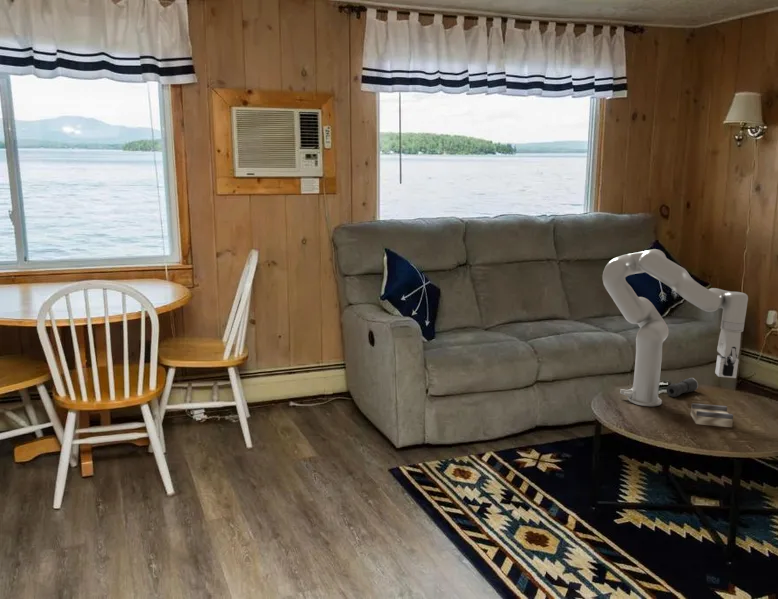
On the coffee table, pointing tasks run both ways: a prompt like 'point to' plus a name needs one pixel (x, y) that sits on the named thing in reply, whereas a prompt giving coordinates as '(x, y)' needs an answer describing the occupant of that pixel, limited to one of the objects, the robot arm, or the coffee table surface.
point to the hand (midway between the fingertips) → (725, 373)
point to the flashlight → (682, 387)
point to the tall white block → (720, 366)
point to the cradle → (711, 415)
